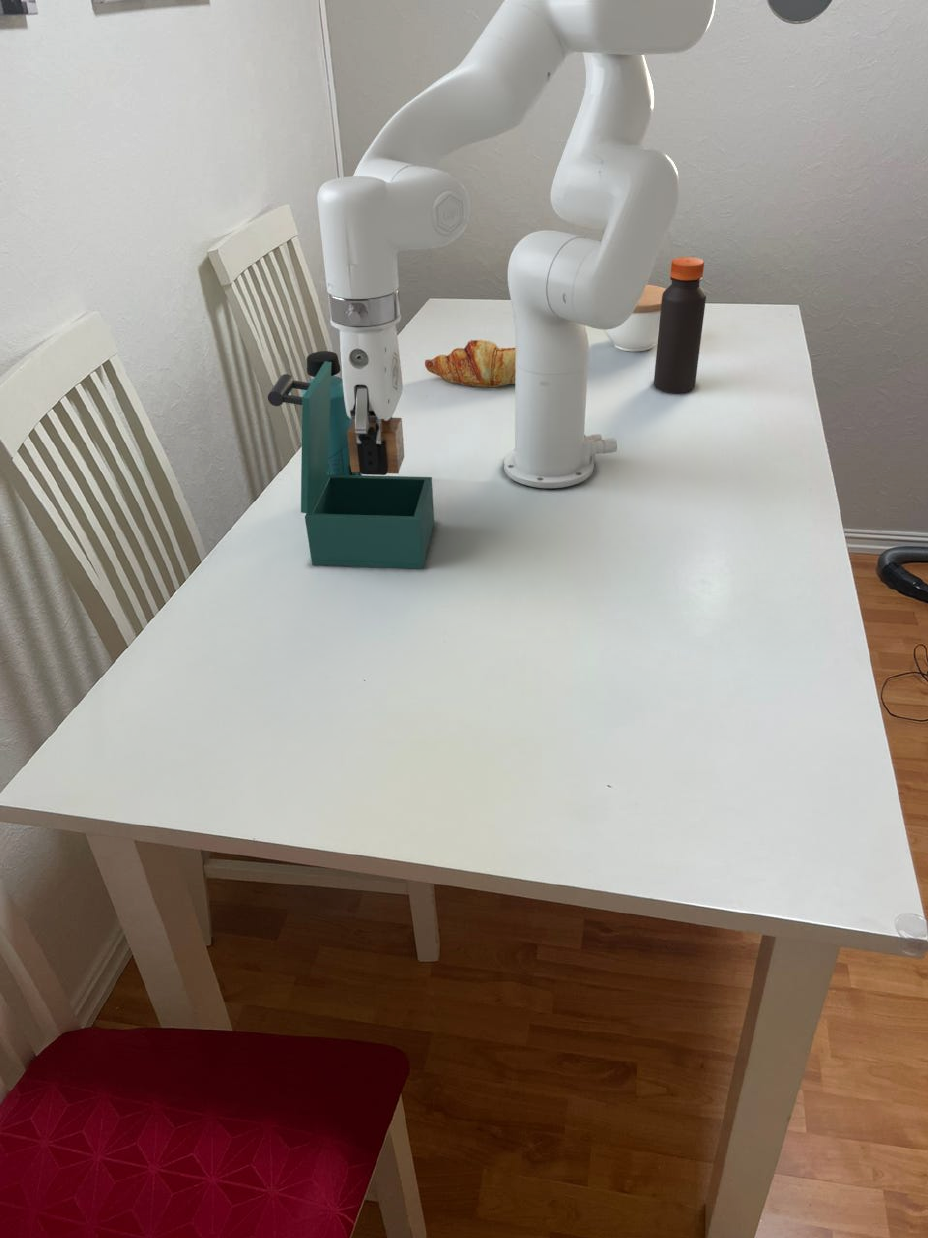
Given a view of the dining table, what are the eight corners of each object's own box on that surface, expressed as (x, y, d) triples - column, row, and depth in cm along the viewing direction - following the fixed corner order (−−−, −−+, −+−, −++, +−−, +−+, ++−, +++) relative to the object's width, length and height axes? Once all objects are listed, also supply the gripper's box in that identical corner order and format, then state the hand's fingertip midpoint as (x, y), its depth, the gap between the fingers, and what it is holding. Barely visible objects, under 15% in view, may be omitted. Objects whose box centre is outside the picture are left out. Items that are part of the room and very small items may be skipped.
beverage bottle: (357, 511, 121) (340, 365, 109) (309, 508, 122) (287, 363, 110) (370, 488, 126) (356, 346, 114) (325, 485, 127) (305, 344, 116)
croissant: (548, 393, 159) (551, 346, 158) (547, 387, 149) (550, 336, 148) (428, 388, 161) (430, 341, 160) (419, 382, 152) (421, 332, 150)
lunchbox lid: (331, 361, 106) (285, 354, 107) (309, 398, 98) (260, 390, 98) (328, 471, 115) (285, 464, 115) (307, 513, 107) (261, 506, 107)
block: (404, 456, 109) (401, 417, 106) (398, 473, 106) (395, 433, 103) (358, 455, 110) (354, 416, 107) (350, 472, 106) (346, 432, 103)
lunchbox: (434, 523, 118) (431, 476, 114) (422, 569, 110) (419, 519, 106) (331, 520, 119) (325, 474, 115) (312, 565, 111) (304, 516, 107)
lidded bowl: (592, 335, 172) (595, 275, 166) (657, 330, 173) (663, 270, 167) (607, 359, 162) (611, 296, 156) (677, 354, 163) (684, 291, 156)
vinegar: (645, 387, 152) (656, 262, 140) (666, 375, 156) (679, 252, 144) (681, 397, 148) (696, 270, 136) (702, 384, 152) (718, 259, 140)
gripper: (385, 334, 90) (397, 499, 100) (411, 283, 103) (420, 433, 114) (310, 333, 90) (330, 496, 101) (346, 282, 104) (360, 432, 115)
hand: (377, 461), depth 107 cm, fingers closed on block, 4 cm apart
